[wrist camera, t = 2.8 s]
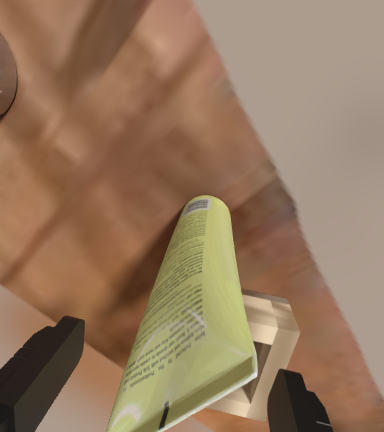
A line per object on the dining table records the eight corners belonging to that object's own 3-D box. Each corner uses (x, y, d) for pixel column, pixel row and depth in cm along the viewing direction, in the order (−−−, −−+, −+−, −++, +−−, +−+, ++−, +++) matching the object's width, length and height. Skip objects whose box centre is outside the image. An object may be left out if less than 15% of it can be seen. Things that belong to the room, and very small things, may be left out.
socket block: (171, 358, 33) (163, 397, 28) (187, 277, 29) (180, 306, 24) (258, 378, 32) (264, 422, 27) (287, 298, 28) (300, 333, 23)
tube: (228, 248, 27) (238, 503, 9) (179, 244, 27) (91, 477, 9) (233, 195, 25) (260, 375, 7) (181, 191, 26) (75, 349, 7)
